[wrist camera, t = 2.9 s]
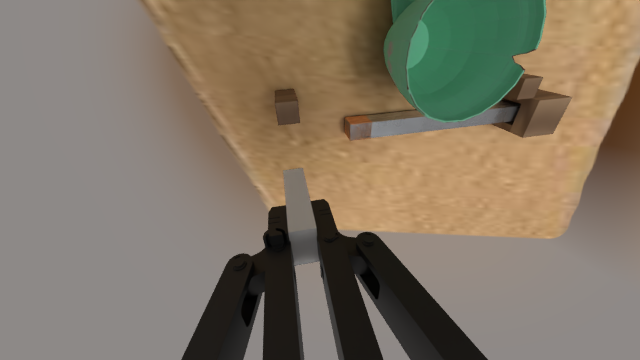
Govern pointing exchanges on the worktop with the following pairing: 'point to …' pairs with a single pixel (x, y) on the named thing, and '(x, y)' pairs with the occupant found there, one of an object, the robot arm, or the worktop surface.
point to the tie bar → (421, 121)
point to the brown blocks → (531, 120)
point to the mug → (460, 52)
